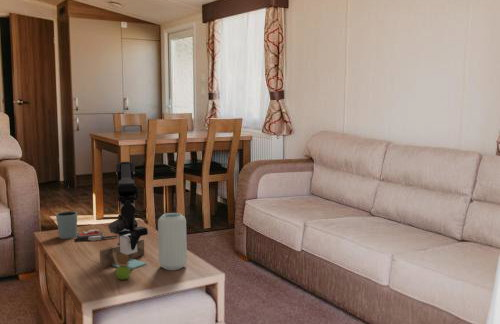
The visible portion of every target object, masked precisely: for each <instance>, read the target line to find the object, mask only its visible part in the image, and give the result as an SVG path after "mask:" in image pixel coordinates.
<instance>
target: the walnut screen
mask: <svg viewBox="0 0 500 324" xmlns="http://www.w3.org/2000/svg"><path fill="white" fill-rule="evenodd" d="M113 249H114V251H112V250H113ZM113 252H115V253H116V257H117V258H118V256H119V255H120V254H122V253H121V252H120V245H119V244H118V245H115V246H111V247H108V248H104V249H100V250H99V266H100V268H105V267H108V266H112V264H115V260H114V257H113ZM144 255H145V239H144V238H139V240H138V242H137V252H135V253H132V254H128V256H129V259H131V258H132V259H134V258H138V257H141V256H144Z"/></svg>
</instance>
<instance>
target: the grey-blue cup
mask: <svg viewBox="0 0 500 324" xmlns="http://www.w3.org/2000/svg"><path fill="white" fill-rule="evenodd" d="M55 219H56V223H57V230H58V231H57V232H58V238H59V239H62V240H68V239H70V238H71V239H76V238H77V233H78V212H77V211H75V210H72V211H68V210H67V211H61V212H57V213H56V214H55Z"/></svg>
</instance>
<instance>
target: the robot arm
mask: <svg viewBox="0 0 500 324" xmlns="http://www.w3.org/2000/svg"><path fill="white" fill-rule="evenodd" d="M135 169H136V166H135V163H132V162H131V161H121V162H119V163H117V164H115V174H116V175H117V180H118V185H117V202H119V203H120V206H119V207H120V214H118V216H117V219H115V220H114V221H112V222H110V223H109V224H108V225H107V227H108V229H109V232H110V233H113V234H115V235H117V236H118V237H119V238H118V239H119V240H118V241H119V242H118V243H117V244H118V245H120V236H122V235H126V234H131V235H127V236H128V237H129V238H130V242H131V249H132V250H134V249H135V247H136V244H137V242H138V240H139V239H141V237H143V236H147V235H148V234H149V231H148V228H147V227H145V226H138V222H137V220H136V217H137V218H138V214H136V206H135V201H137V200H138V198H139V187H138V185H137V184H136V183H135V180H134V175H135V174H136V170H135Z"/></svg>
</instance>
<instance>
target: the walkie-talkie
mask: <svg viewBox="0 0 500 324" xmlns="http://www.w3.org/2000/svg"><path fill="white" fill-rule="evenodd" d="M112 238H118V234H115V235H105V236H104V235H103V232H102V231H101V230H99V229H98V228H97V229H89V230H88V231H84V230H83V232H79V233H78V232H77V237H75V238H74V240H75V241H77V242H82V241H83V242H85V241H89V240H90V241H91V242H97V241H102V240H104V239H105V240H106V239H112ZM96 240H97V241H96Z"/></svg>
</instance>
